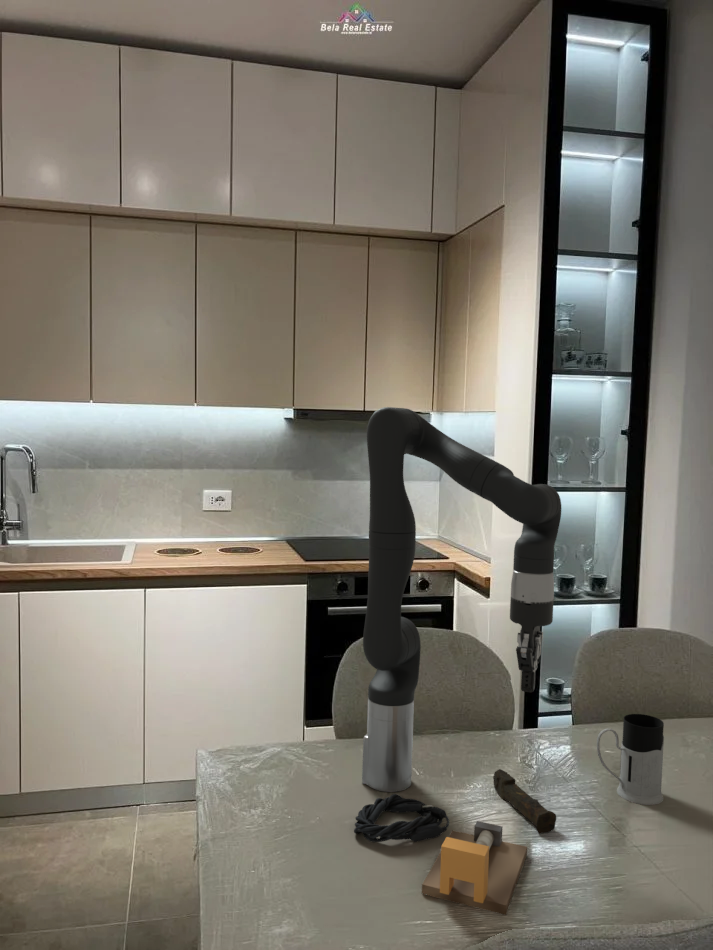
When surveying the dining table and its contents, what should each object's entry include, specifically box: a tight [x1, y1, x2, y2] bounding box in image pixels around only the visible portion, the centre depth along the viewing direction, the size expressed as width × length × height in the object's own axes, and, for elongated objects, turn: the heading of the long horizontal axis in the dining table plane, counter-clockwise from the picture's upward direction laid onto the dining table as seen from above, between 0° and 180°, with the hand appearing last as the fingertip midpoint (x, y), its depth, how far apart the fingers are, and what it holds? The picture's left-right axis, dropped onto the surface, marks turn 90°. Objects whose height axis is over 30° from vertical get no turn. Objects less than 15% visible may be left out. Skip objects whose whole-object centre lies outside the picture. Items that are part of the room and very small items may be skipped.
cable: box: [353, 793, 450, 843], centre depth 142 cm, size 17×14×4 cm
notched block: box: [440, 836, 489, 903], centre depth 119 cm, size 7×3×7 cm, turn 68°
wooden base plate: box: [421, 820, 528, 916], centre depth 128 cm, size 13×18×4 cm
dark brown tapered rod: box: [492, 768, 557, 834], centre depth 150 cm, size 19×4×5 cm, turn 17°
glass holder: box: [596, 713, 665, 806], centre depth 157 cm, size 9×14×15 cm, turn 102°
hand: (527, 690), depth 143 cm, fingers closed
